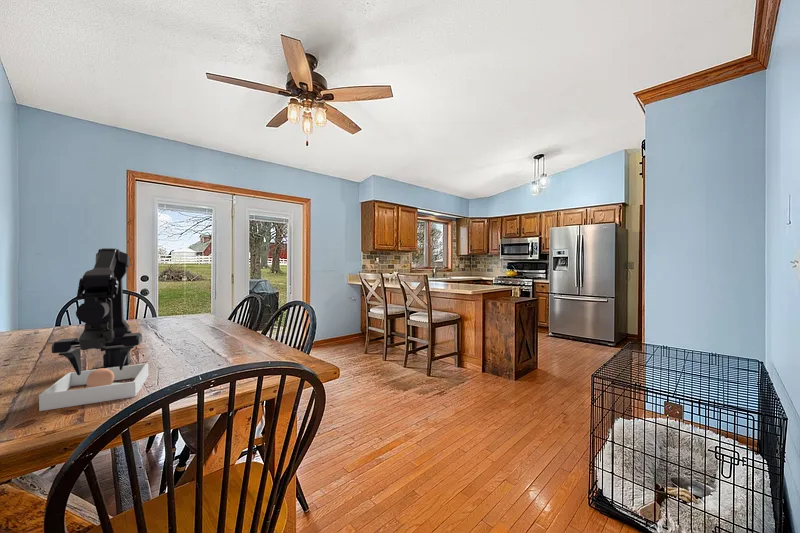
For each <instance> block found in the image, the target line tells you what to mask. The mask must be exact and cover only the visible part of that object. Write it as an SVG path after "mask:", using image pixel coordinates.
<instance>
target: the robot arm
mask: <svg viewBox="0 0 800 533" xmlns="http://www.w3.org/2000/svg"><path fill="white" fill-rule="evenodd" d="M130 263H131V260H130V256H129V254H128V253H126V252H123V251H120V249H117V248H111V247H110V248H107V247H106V248H98V251H97V253H95V264H94V266H93V268H92V269H90V270H87V271H86V272H84V274H83V275H82V277H81V278H79V280H78V287H77V292H76V301H78V300H83V301H84V302H83V303H82V304H80V305H79V306H78V307H77V308H76V311H75V316H76V318H77V319H78V320H79V321H80V322H82V323H85V324H84V329H83V331H82V333H81V335H80V336H79V337H71V338H60V339H59V340H57V341H55V342H54V343H52V345H51V354H58V356H59V357H65V358H66V359H67V360H68V361H69V362H70V363H71V365H72V367H73V369H74V372H76V373H77V375H80V374H81V371H82V358H81V357H82V356H81V351H87V350H93V349H95V350H99V349H100V352H104V354H103V355H102V359H103V360H102V361H103V362H102V363H103V365H102V366H103V368H112V367H119V368H120V370H122V368H123V366H129V365H131V364H130V363H132V360H130V356H131V353H130V351H131V350H132V349H134V348H135V347H136V346H138V345H140V344H141V343H142V342H143V335H142V333H141V332H133V331H132V330H131V329H130V325H129V323H128V322H127V321H126V320H125V319H124V318H125V317H124V294H123V293H124V291H123V290H124V289H123V286H124V285H123V279H124V277H125V276H126V274H127V273H128V272H129V270H128V269H129V268H130V265H131V264H130Z"/></svg>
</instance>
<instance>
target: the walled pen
mask: <svg viewBox="0 0 800 533" xmlns="http://www.w3.org/2000/svg"><path fill="white" fill-rule="evenodd" d="M97 369H98V368H97ZM97 369H87V370H81V374H80V375H77V373H76V371H72V372H68V373H66V374H65V375H64V376H62V377H61V378H60V379H58V380H57V381H56V382H55V383H53V384H51V386H49V387H48V388H47V389H45V390H43V392H41V393H40V394H38V405H39V406H38V407H39V408H38V409H39V412H42V411H49V410H54V409H55V410H56V409H61V408H68V407H75V406H82V405H89V404H94V403H101V402H108V401H115V400H121V399H127V398H133V397H134V398H136V396H137V395H138V394H139V391H140V390H141V388H142V387H143V386H144V384H145V382H146V380H147V378H148V377H149V363H146V362H145V363H139V364H129V365H128V366H123V368H122V370H120V368H119V367H112V368H106V369H109V370H111V371H112V372H113V374H114V381H122V380H128V379H134V380H132V381H129V382H113V383H112V384H111V385H105V386H98V387H90V388H89V387H88V386H87V387H86V388H85V387H84V388H76V389H70V388H71V387H74V386H75V387H77V386H82V385H87V383H86V381H87V377H88V376H89V374H90V373H91V372H93V371H95V370H97ZM69 389H70V390H69Z"/></svg>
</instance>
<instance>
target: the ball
mask: <svg viewBox="0 0 800 533" xmlns="http://www.w3.org/2000/svg"><path fill="white" fill-rule="evenodd" d="M94 370H95V369H94ZM114 382H115V380H114V374H113V372H112V371H111V370H109V369H106V368H104V367H103V368H97V370H95V371H93V372H91V373H90V374H89V376H88V377H87V381H86V383H87V384H86V385H87V388H88V387H89V388H90V387H98V386H105V385H111V384H112V383H114Z"/></svg>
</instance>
